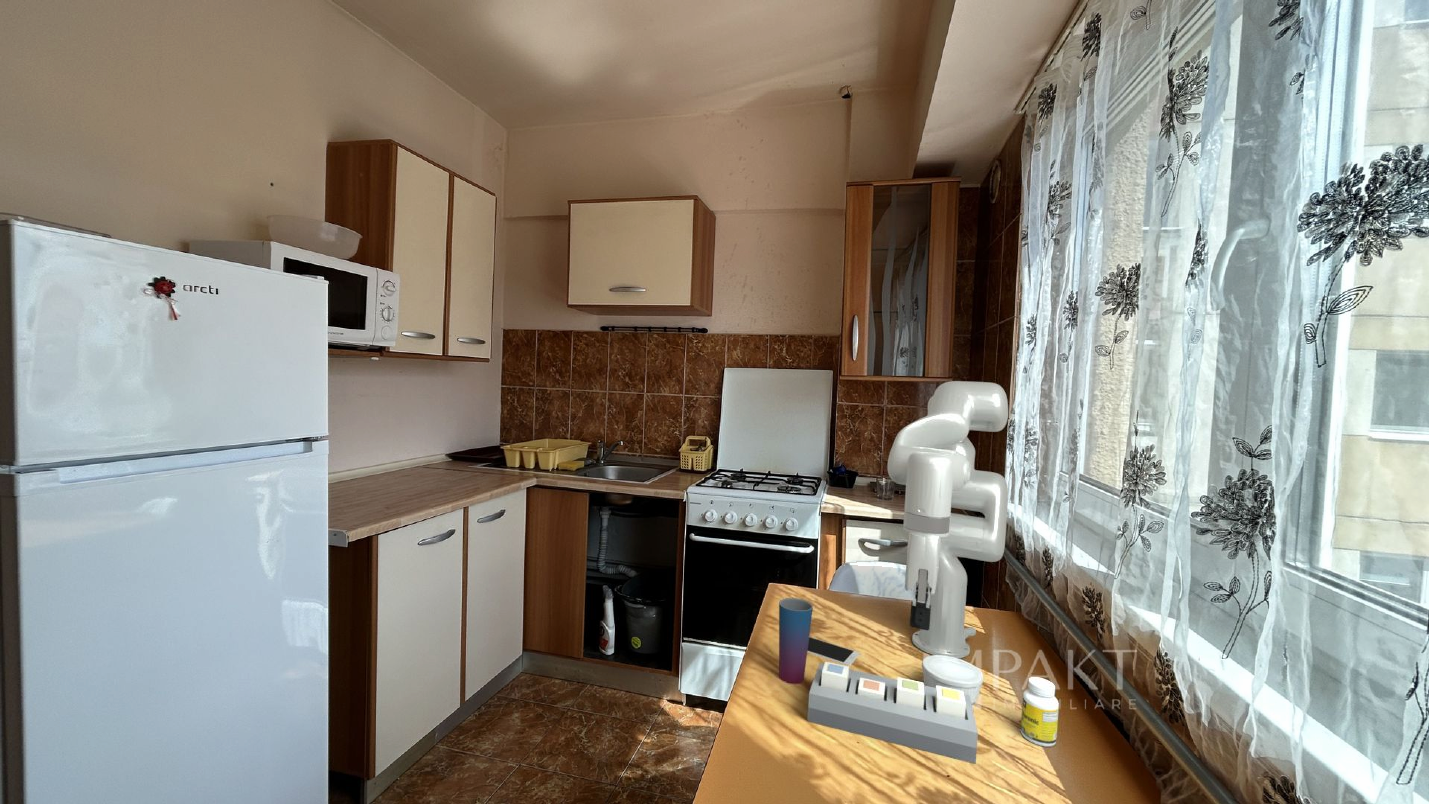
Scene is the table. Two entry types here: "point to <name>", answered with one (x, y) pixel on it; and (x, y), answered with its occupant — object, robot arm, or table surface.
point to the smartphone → (832, 651)
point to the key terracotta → (871, 688)
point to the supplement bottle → (1040, 712)
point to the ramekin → (952, 675)
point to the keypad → (893, 717)
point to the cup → (793, 638)
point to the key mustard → (950, 702)
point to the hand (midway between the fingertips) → (919, 626)
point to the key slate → (835, 676)
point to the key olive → (910, 693)
